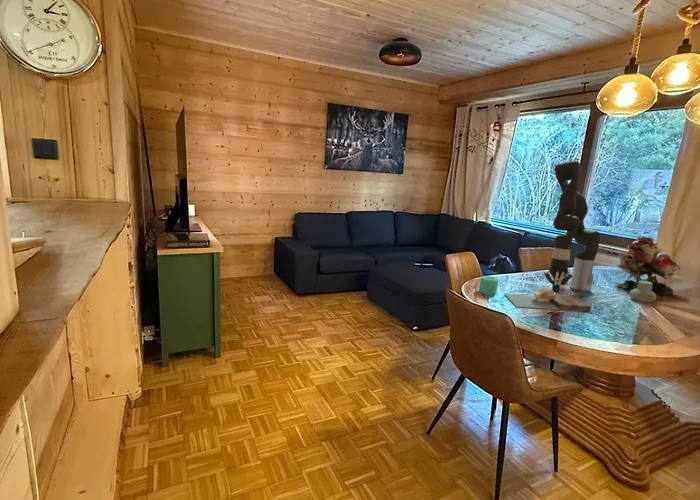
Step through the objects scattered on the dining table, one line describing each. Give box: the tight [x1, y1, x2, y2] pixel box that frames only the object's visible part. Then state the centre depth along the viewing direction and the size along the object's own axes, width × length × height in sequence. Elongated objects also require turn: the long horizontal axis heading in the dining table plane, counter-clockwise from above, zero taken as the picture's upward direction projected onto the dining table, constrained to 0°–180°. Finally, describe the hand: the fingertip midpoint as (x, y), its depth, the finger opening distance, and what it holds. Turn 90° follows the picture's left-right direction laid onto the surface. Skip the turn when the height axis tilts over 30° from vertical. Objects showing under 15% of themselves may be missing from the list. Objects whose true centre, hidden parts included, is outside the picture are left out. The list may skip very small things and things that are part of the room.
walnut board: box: [549, 293, 592, 312], centre depth 191 cm, size 14×16×2 cm
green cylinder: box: [478, 275, 499, 296], centre depth 204 cm, size 8×8×8 cm
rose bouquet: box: [615, 236, 681, 296], centre depth 222 cm, size 26×29×30 cm
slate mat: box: [504, 293, 561, 311], centre depth 193 cm, size 20×19×1 cm
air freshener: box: [629, 281, 657, 304], centre depth 202 cm, size 11×8×10 cm
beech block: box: [532, 286, 556, 303], centre depth 192 cm, size 8×6×4 cm
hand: (555, 292), depth 190 cm, fingers closed
